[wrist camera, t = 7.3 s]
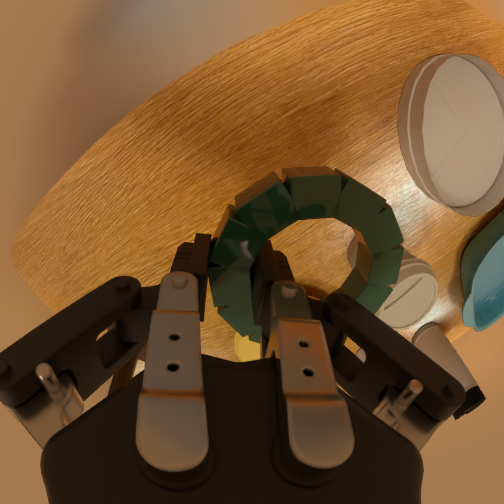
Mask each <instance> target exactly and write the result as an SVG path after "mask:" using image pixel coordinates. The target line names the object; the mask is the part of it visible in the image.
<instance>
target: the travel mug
mask: <svg viewBox="0 0 504 504" xmlns="http://www.w3.org/2000/svg"><path fill="white" fill-rule="evenodd" d="M412 344H413V345H414V346H415V347H417V348H418V349H419V350H421V351H422V352H423V353H424V354H426V355H427V356H428V357H429V358H431V359H432V360H433V361H434V362H436V363H437V364H438V365H439V366H441V367H442V368H443V369H444V370H446V371H447V372H448V373H449V374H451V375H452V376H453V377H454V378H455V379H457V380H458V381H459V382H460V383H461V384H462V386H463V387H464V389H465V393H466V399H465V401H464V403H463V404H462V405H461V406H460V407H459V408H458V409H457V410H456V411H455V412H454V413H453V416H454V418H455V420H456V419H459V418H460V417H461V416H463V415H464V414H468V413H469V412H471V411H473V410H474V409H475V408H477V407H478V406H479V405H480V404H482V403H483V402H484V401H485V399H486V398H485V396H484V394H483V393H482V391H481V390H480V388H479V386H478V384H477V382H476V381H475V379H474V377H473V376H472V375H471V373H470V371H469V370H468V368H467V367H466V365H465V364H464V362H463V361H462V359H461V358H460V356H459V355H458V353H457V352H456V350H455V349H454V347H453V346H452V345H451V343H450V342H449V340H448V339H447V337H446V336H445V335H444V333H443V332H442V330H441V329H440V328H439V326H438V325H437V324H436V323H429V324H426V325H424V326H423V327H421V328H420V329H419V330H418V331H417V332H416V334H415V335H414V337H413V340H412Z"/></svg>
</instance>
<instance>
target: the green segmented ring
mask: <svg viewBox="0 0 504 504" xmlns="http://www.w3.org/2000/svg"><path fill="white" fill-rule="evenodd" d="M282 181H283V182H282ZM282 181H281V180H280V178H279V177H278V175H277V174H276V173H275V172H271V173H270V174H268V175H267V176H265V177H264V178H262V179H261V180H259V181H258V182H256V183H255V184H253V185H252V186H250V187H249V188H247V189H246V190H244V191H243V192H241V193H240V194H238V195H237V196H235V206H233V205H231V204H228V206H227V208H226V210H225V212H224V214H223V216H222V218H221V220H220V223H219V225H218V227H217V229H216V231H215V233H214V236H213V238H212V240H211V244H210V252H209V264H208V277H209V282H210V288H211V293H212V299H213V304H214V307H218V314H219V315H220V316H221V317H222V318H223V319H224V320H225V321H226V322H227V323H228V324H229V325H230V326H232V327H233V328H234V329H235V330H236V331H237V332H238V333H239V334H240V335H241V336H242V337H245V336H247V335H248V336H249V341H252V342H256V343H259V344H260V336H261V331H262V326H258V325H254V319H253V310H252V302H251V293H252V285H251V273H250V269H251V267H252V265H253V264H254V262H255V260H256V258H257V256H258V253H260V251H261V249H262V247H263V245H264V244H265V242H266V240H268V239H269V238H271V237H272V236H274V235H276V234H277V233H279V232H280V231H282V230H283V229H285V228H287V227H288V226H290V225H291V224H293V223H295V222H296V221H298V220H307V219H320V218H335V219H337V220H339V221H341V222H343V223H344V224H346V225H348V226H350V227H352V229H353V231H354V233H355V235H356V237H357V239H358V248H357V257H356V265H355V267H354V269H353V270H352V272H351V273H350V274H349V276H348V277H347V279H346V280H345V282H344V283H343V284H342V286H341V287H340V288H339V289H337V290H335V291H334V292H332V293H330V294H333V293H341V294H345V295H348V296H350V297H352V298H353V299H355V300H356V301H357V302H359V303H360V304H361V305H362V306H364V307H365V308H366V309H368V310H369V311H370V312H372V313H373V314H374V315H375V313H376V312H377V311H378V310H379V308H380V307H381V306H382V305H383V303H384V302H385V301H386V299H387V298H388V297H389V295H390V294H391V293H392V291H393V288H392V287H391V286H390V285H392V284H396V283H397V280H398V276H399V272H400V267H401V262H402V257H403V252H404V247H403V246H401V245H400V244H401V243H402V242H403V241H404V240H403V237H402V234H401V231H400V229H399V226H398V223H397V221H396V218H395V215H394V213H393V210H392V208H391V206H390V205H388V204H387V203H385V202H386V199H384V198H383V197H381V196H380V195H378V194H377V193H375V192H374V191H372V190H371V189H369V188H368V187H366V186H364V185H363V184H361V183H360V182H358V181H356V180H355V179H353V178H352V177H350V176H348V175H347V174H345V173H343V172H342V171H340V170H338V169H337V168H335V170H332V169H331V168H329V167H327V166H319V167H295V168H283V169H282ZM330 294H329V295H330ZM329 295H327V296H325V297H324V298H322V299H320V301H324V302H326V299H327V297H328V296H329Z"/></svg>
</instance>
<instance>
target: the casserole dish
mask: <svg viewBox="0 0 504 504" xmlns="http://www.w3.org/2000/svg"><path fill="white" fill-rule="evenodd" d="M461 281H462V288H463V294H464V301H465V302H464V304H463V308H462V319H463V323H464V325H465V326H466V327H473V328H474V330H475V331H477V332H479V331H483V330H485V329H486V328H488V327H490V326H491V325H492V324H494V323H495V322H496V321H497V320H498V319H500V318H501V317H502V316H503V315H504V210H502V211H501V212H500V213H499V214H498V215H497V216H496V217H495V218H494V219H493V220H492V221H491V222H489V223H488V224H487V225H486V226H485V227H484V228H483V229H482V230H481V231H480V232H479V233H478V234H477V236H476V237H475V238H474V239H473V240H472V241H471V242H470V243H469V245H468V246H467V248H466V249H465V251H464V254H463V257H462V261H461Z"/></svg>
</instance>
